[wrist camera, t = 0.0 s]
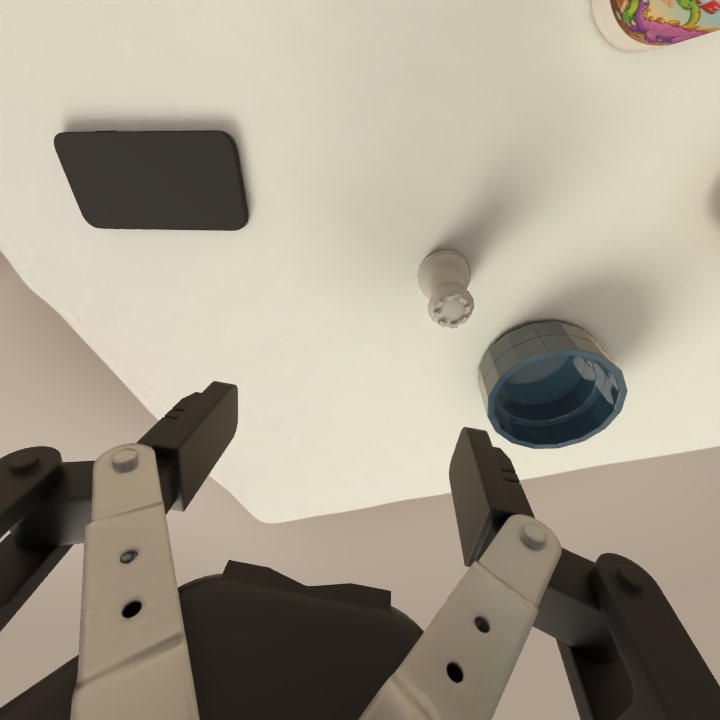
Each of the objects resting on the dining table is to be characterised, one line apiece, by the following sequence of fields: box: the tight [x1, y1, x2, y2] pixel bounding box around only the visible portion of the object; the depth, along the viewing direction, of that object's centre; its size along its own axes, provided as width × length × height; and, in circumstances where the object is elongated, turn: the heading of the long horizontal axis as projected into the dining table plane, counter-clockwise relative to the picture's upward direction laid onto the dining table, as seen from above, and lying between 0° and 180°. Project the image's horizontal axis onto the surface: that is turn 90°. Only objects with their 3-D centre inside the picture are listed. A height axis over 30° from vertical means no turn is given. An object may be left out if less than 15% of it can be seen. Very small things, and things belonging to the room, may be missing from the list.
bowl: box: [479, 322, 627, 449], centre depth 34 cm, size 11×11×6 cm
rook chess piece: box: [418, 250, 474, 328], centre depth 29 cm, size 4×4×8 cm
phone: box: [54, 131, 248, 231], centre depth 30 cm, size 7×1×15 cm
